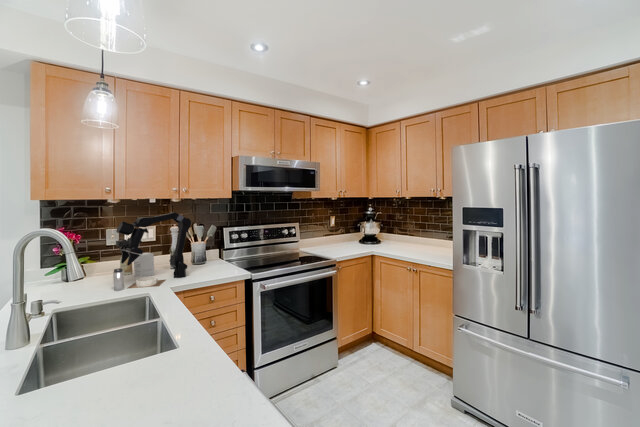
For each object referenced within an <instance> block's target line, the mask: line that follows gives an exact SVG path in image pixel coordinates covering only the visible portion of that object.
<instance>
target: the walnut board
mask: <svg viewBox="0 0 640 427" xmlns="http://www.w3.org/2000/svg"><path fill="white" fill-rule="evenodd" d="M166 281H167V279H158V283H157V284H154V285H151V286H144V287H138V286H136V282H135V281H134V283H132V284H131V285H129V286H128V287H126V289H140V288H141V289H142V288H152V287H160V286H162V284H164V283H165V282H166Z"/></svg>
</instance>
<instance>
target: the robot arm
mask: <svg viewBox="0 0 640 427" xmlns="http://www.w3.org/2000/svg"><path fill="white" fill-rule="evenodd" d="M169 220H173V221H174V222H175V223H177V228H178V235H177V238H176V244H175V250H174V253H173V254H170V258H169V260H168V261H169V265H171V267H172V268H173V269H174V270H173V278H174V279H183V278H186V277H187V268H188V264H186V263H185V262H184V260H185V259H184V248H185V243H186V240H187V239H186V237H187V233H188V231H189V229H190V228H191V226H192V220H191V219H190V218H188V217H184V216H183V215H181V214H179V213H178V212H176V211H175V212H173V211H171V212H169V213H165V214H160V215H155V216H146V217H145V216H141V217H137V218H136V220H135V221H134V222H132V223H128V222H126V221H124V220H122V221H121V222H120V223H119V225H118V226H117V228H116V230H115V232H116V233H118V234H121V235H124V236H130V237H128V238H127V239H121V240H115V247H118V250H119V251H120V253H121V257H122V258H121V257H120V258H121V263H124V262H125V261H126V260H127V258H128V257H129V259H128V262H127V265H130V264H131V263H132V264H133V263H134V260H135V259H137V258H138V257H139V256H140V255H139V254H142V253H144V250H143V249H142V248H139V247H140V244H142V242H143V241H142V240H143V236H144V235H145V233H146V234H149V231H148V228H149V227H151V226H152V225H154V224H156V223H160V222H161V223H162V222H165V221H169Z"/></svg>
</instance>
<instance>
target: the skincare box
mask: <svg viewBox="0 0 640 427" xmlns="http://www.w3.org/2000/svg"><path fill="white" fill-rule="evenodd" d="M121 258H122V256H121V257H119V266H120V267H119V268H122V269H123V276H129V275H128V274H131V273H132V274H133V262H132V263H131V264H130V265H127V262H128V259H129V257H128V258H127V260H126V261H125V262H124V263H121ZM132 274H131V275H132Z"/></svg>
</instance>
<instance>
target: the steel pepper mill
mask: <svg viewBox="0 0 640 427" xmlns="http://www.w3.org/2000/svg"><path fill="white" fill-rule="evenodd" d="M112 273H113V291H114V292H119V291H123V290H125V284H124V282H125V281H124V280H125V279H124V278H125V277H124V275H123V269H122V268H120V267H119V268H114V269H113V272H112Z"/></svg>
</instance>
